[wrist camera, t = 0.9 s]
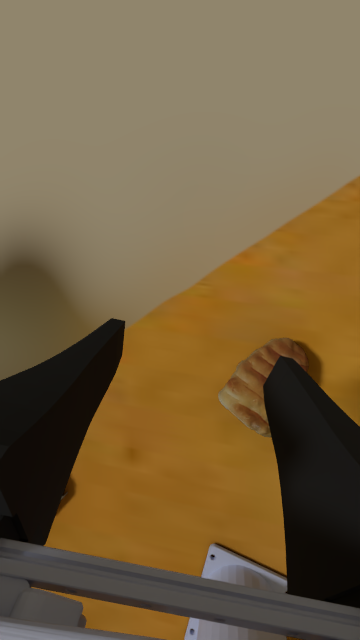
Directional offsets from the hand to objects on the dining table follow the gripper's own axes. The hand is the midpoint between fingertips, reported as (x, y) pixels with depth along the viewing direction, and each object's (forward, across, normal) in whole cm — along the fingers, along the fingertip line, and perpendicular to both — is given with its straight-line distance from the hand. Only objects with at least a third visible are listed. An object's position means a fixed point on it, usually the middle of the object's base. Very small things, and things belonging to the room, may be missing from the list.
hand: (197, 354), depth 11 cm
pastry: (+10, -9, +10) cm, 17 cm away
